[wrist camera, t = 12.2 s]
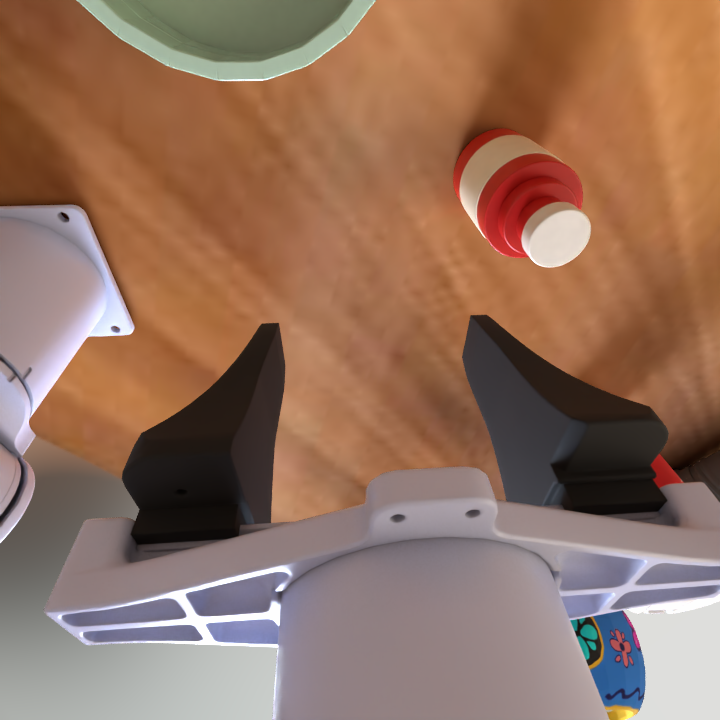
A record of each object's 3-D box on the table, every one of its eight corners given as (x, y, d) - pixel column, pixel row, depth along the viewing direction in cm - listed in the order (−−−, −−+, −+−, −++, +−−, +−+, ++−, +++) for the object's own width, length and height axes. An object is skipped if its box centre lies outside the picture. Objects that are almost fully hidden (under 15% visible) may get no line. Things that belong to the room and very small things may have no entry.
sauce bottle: (447, 213, 23) (492, 290, 17) (458, 127, 20) (518, 182, 14) (521, 211, 23) (594, 287, 17) (543, 126, 21) (638, 179, 14)
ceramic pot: (564, 523, 47) (641, 690, 36) (616, 569, 56) (691, 714, 45) (434, 575, 54) (464, 730, 42) (500, 609, 63) (539, 743, 52)
